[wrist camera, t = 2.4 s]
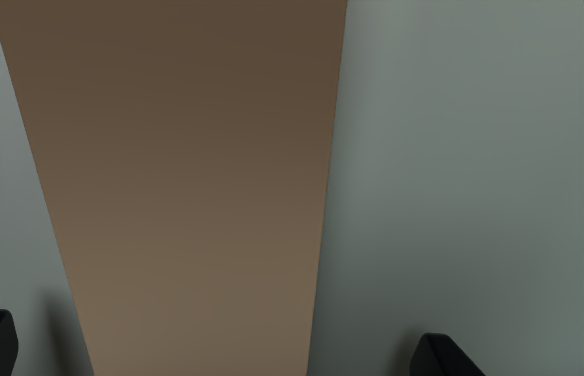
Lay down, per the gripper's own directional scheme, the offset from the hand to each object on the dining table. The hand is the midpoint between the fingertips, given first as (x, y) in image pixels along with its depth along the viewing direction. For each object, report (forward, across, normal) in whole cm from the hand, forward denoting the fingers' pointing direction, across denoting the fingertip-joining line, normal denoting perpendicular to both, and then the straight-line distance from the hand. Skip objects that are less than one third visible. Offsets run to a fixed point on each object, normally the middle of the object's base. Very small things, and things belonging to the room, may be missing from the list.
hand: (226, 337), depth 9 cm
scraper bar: (+1, 0, 0) cm, 1 cm away
